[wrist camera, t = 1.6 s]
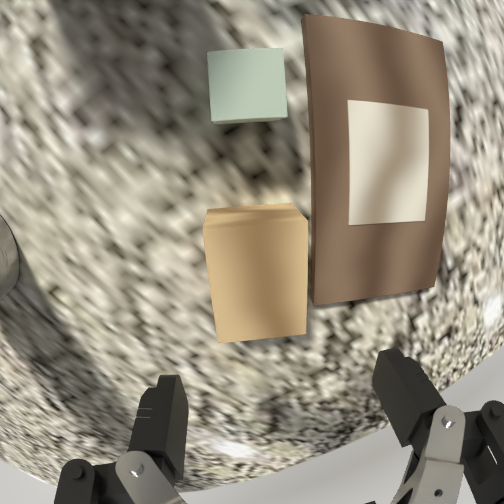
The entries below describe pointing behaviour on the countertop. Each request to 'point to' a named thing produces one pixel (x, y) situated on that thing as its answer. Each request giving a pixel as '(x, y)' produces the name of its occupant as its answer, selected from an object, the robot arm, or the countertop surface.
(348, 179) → the board
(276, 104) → the sage block
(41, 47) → the countertop surface
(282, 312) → the oak block
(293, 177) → the countertop surface
